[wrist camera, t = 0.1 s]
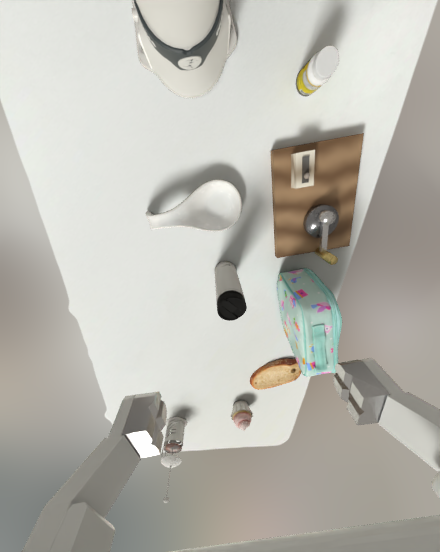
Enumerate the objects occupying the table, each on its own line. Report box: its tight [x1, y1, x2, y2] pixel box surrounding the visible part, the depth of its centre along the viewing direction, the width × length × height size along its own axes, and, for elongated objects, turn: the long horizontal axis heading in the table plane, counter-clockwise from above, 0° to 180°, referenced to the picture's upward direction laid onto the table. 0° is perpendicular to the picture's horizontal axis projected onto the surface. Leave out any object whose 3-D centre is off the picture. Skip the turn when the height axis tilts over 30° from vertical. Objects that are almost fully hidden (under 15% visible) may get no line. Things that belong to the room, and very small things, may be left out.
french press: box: [161, 417, 187, 503], centre depth 81 cm, size 10×12×25 cm
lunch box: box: [277, 268, 342, 377], centre depth 56 cm, size 27×10×21 cm, turn 14°
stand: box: [271, 133, 364, 258], centre depth 49 cm, size 26×20×6 cm
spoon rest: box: [146, 179, 242, 232], centre depth 49 cm, size 24×12×7 cm, turn 103°
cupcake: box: [231, 401, 253, 431], centre depth 84 cm, size 9×9×10 cm
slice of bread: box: [250, 358, 301, 390], centre depth 79 cm, size 18×18×4 cm
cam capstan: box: [303, 204, 339, 265], centre depth 50 cm, size 13×8×8 cm, turn 9°
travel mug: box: [215, 261, 247, 320], centre depth 51 cm, size 6×7×20 cm
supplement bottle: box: [296, 46, 339, 96], centre depth 38 cm, size 5×5×8 cm
